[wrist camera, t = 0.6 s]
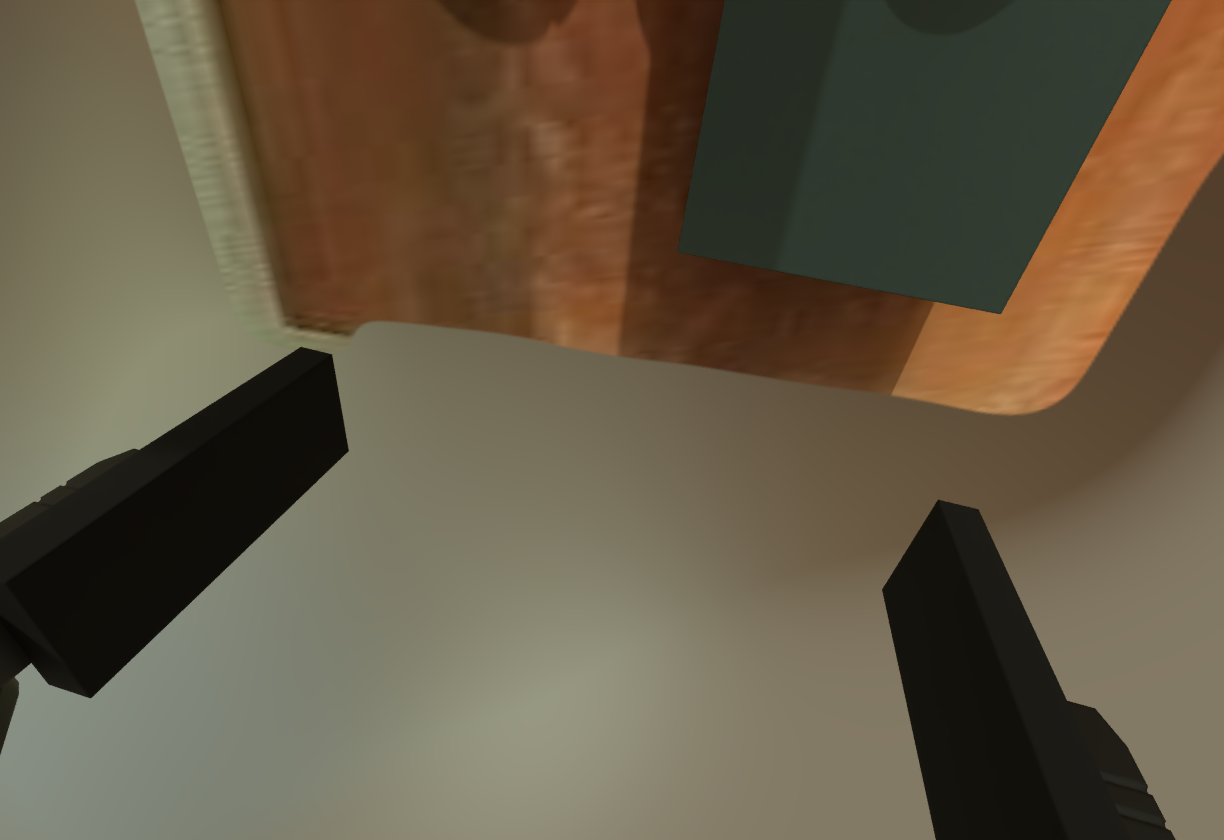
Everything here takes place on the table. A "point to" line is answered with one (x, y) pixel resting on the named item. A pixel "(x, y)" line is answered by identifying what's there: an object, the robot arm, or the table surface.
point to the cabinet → (903, 136)
